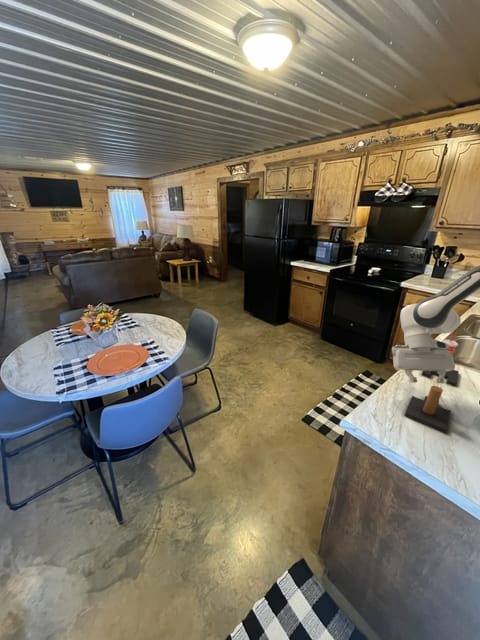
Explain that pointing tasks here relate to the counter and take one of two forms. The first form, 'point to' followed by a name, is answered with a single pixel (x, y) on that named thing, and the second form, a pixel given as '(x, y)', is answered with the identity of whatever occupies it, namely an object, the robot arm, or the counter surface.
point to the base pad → (449, 375)
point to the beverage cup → (451, 345)
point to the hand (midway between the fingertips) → (427, 382)
